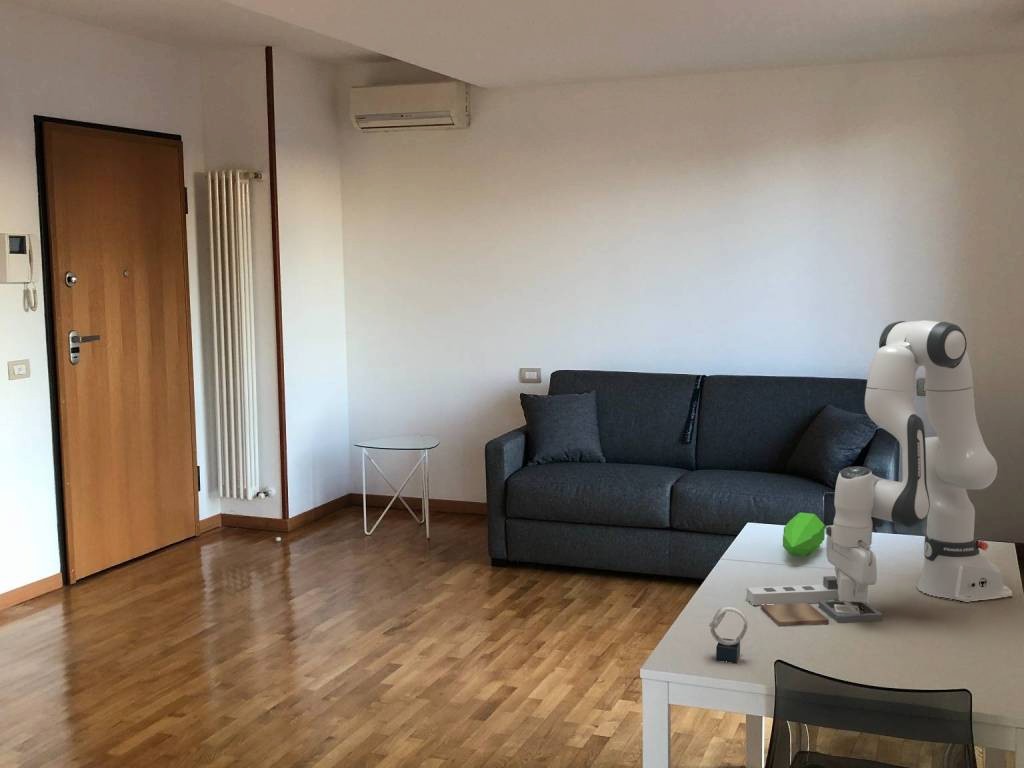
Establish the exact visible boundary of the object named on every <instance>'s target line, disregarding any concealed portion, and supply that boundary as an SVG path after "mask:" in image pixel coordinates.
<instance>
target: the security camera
mask: <svg viewBox="0 0 1024 768" xmlns="http://www.w3.org/2000/svg"><path fill="white" fill-rule="evenodd" d="M856 587H857V585H856V581H855V580H854V579H852V578H851V577H850V576H848V575H847V574H845V573H844V572H842V571H841V570H839V574H838V596H839V600H840V602H842V601H843V602H844V603H845V604H846V605H837V604H834V608H833V609H834V610H835V611H836V612H837V613H839V614H840V615H848V614H861V612H860V609H859V607H858V606H853V605H852V604H851V603H850V602H864V603H868V593H869V589H868V588H869V585H867V587H866V589H865V591H864V598H863V599H857V598H855V597H854V590H856Z"/></svg>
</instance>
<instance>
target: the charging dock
mask: <svg viewBox="0 0 1024 768" xmlns="http://www.w3.org/2000/svg"><path fill="white" fill-rule="evenodd" d="M850 603H851V604H852V605H853V606H860V607H862V608H863V609H864V610H863V609H862V608H861V609H862V610H863V611H864V612H866V613H860V614H848V615H840V614H839V613H837V612H836V611H835V610H834V604H837V605H846V604H845V603H844V602H843V601H842V602H840V600H837V601H834V600H829V601H819V603H818V608H819V609H820V610H822V612H823V613H825V614H827V615H828V616H829V617H830V618H832V619H833V620H834V621H835V622H836V623H856V622H857V621H863V622H879V620H882V621H884V620H883V617H884V616H883V615H884V614H883V613H881V611H878V610H877V609H876V608H875V607H873V606H872V605H870V604H869V602H867V603H864V602H850ZM860 607H859V608H860ZM867 612H868V613H867ZM857 623H858V622H857Z"/></svg>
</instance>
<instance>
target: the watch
mask: <svg viewBox="0 0 1024 768" xmlns="http://www.w3.org/2000/svg"><path fill="white" fill-rule="evenodd" d="M727 612H733V613H735V614H737V615H739V616H740V617H741V619H742V620H743V623H744V625H743V629H742V630H741V632H740V633H739V635H738V636H737V637H736V638H735V639H733V638H724V637H723V638H722V637H720V636H719V635H718V633H717V632H716V631H715V629H717V628H718V627H719V625H720V623H721V622H722V621H723V618H724V617H725V615H726V614H727ZM748 622H749V621H748V619H747V615H746V614H745V613H744V612H743V611H742V610H741V609H739V608H738V607H735V606H730V605H729V606H728V605H727V606H724V607H722V606H721V607H720V608H719V609H718V611H717V612H716V613H715V614H714V616H713V618H712V619H711V621H710V623H709V627H710V630H709V631H710V634H711V635H712V637H713V639H714V640H715V641H716V642H717V645H716V649H715V652H716V653H715V661H716V662H721V661H724V662H723V663H729V662H733V663H732V664H738V661H739V658H740V654H741V641H742V640H743V638H744V637H745V634H746V632H747V629H748V627H749V625H748ZM737 660H738V661H737ZM726 661H727V662H726Z"/></svg>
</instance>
